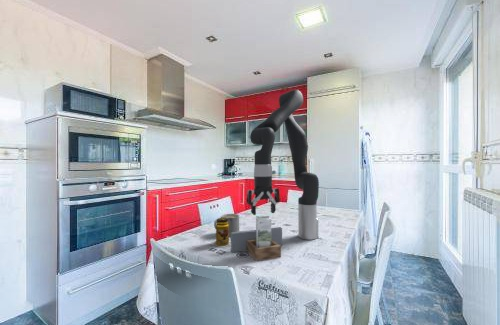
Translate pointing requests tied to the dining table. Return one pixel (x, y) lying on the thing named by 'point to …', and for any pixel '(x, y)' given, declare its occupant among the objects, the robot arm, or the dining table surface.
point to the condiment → (222, 233)
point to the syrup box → (263, 231)
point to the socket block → (263, 250)
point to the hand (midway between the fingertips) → (263, 213)
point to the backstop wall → (251, 238)
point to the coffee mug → (231, 222)
